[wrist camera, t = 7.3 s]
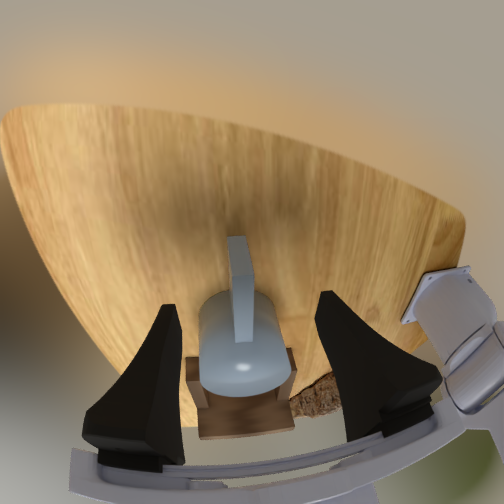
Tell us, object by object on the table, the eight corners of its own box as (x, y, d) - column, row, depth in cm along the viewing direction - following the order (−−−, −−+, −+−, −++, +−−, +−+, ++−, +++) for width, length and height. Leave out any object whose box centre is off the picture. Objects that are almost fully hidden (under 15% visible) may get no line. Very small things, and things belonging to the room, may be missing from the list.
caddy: (290, 348, 29) (306, 403, 23) (282, 385, 34) (293, 429, 28) (185, 357, 27) (186, 416, 21) (198, 393, 32) (200, 439, 27)
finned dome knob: (283, 222, 19) (311, 281, 14) (272, 335, 27) (285, 391, 22) (184, 228, 18) (176, 292, 13) (203, 342, 26) (205, 399, 21)
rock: (348, 352, 32) (363, 388, 27) (386, 360, 36) (400, 389, 32) (279, 403, 38) (286, 434, 34) (322, 406, 43) (330, 432, 38)
